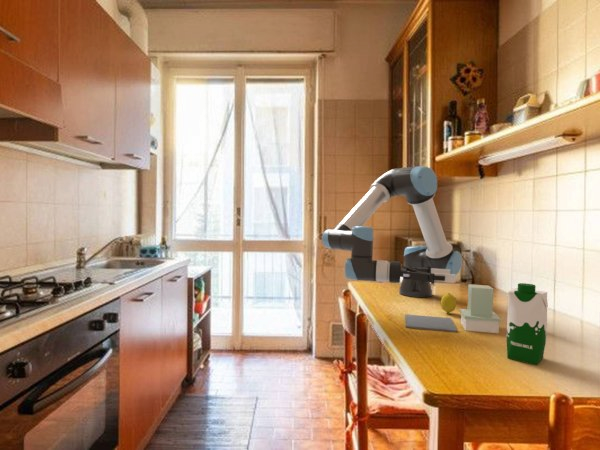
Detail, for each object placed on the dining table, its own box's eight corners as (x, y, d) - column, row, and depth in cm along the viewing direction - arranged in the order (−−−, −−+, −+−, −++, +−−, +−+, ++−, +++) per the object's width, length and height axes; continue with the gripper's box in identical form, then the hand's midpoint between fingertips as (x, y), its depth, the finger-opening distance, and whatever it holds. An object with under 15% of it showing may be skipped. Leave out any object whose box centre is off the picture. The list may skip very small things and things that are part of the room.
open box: (460, 322, 140) (461, 311, 140) (491, 325, 138) (492, 313, 138) (465, 330, 130) (466, 318, 130) (498, 333, 128) (499, 321, 128)
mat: (405, 315, 148) (405, 314, 148) (450, 319, 144) (450, 318, 144) (406, 327, 132) (406, 325, 132) (457, 332, 128) (457, 330, 128)
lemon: (457, 315, 150) (457, 294, 150) (441, 314, 151) (442, 293, 151) (454, 312, 155) (455, 291, 155) (439, 311, 156) (440, 291, 156)
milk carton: (502, 358, 105) (505, 283, 105) (511, 350, 112) (514, 279, 112) (540, 367, 100) (544, 288, 99) (547, 358, 106) (551, 283, 106)
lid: (459, 310, 141) (460, 282, 140) (493, 313, 138) (494, 284, 138) (464, 318, 130) (465, 288, 130) (501, 321, 127) (502, 290, 127)
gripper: (389, 277, 153) (447, 281, 148) (387, 288, 128) (457, 293, 123) (390, 257, 153) (448, 261, 147) (388, 264, 128) (458, 269, 123)
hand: (452, 275), depth 135 cm, fingers open, 13 cm apart
